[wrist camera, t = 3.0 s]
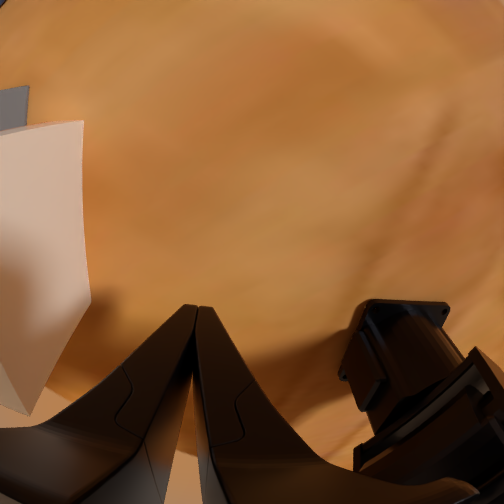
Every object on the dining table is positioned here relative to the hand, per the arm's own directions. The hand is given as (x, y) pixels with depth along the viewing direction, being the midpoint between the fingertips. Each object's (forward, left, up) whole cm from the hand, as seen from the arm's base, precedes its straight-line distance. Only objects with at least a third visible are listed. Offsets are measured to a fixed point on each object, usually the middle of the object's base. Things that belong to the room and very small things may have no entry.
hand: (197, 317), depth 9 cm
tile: (+8, 0, -7) cm, 10 cm away
